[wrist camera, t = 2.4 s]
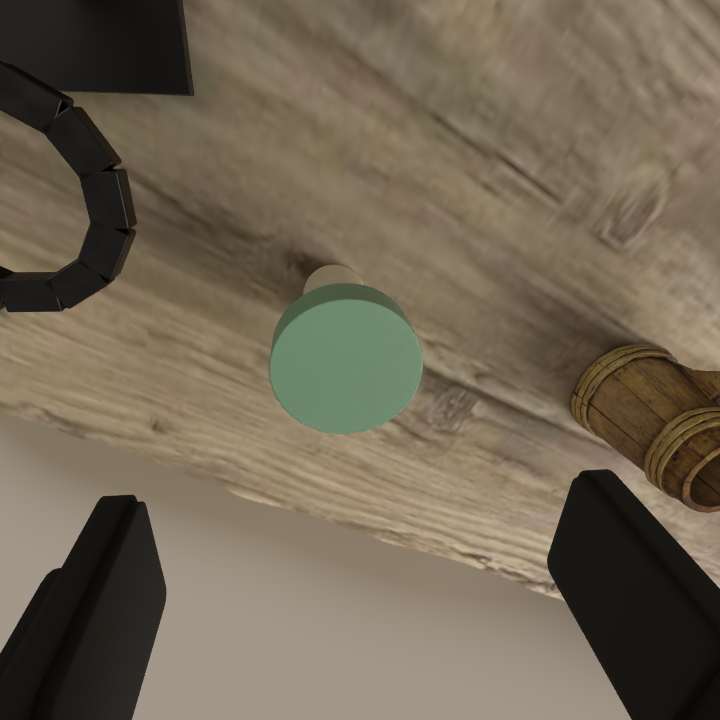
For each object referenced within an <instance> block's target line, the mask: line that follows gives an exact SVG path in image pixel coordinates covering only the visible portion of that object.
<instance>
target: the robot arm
mask: <svg viewBox="0 0 720 720" xmlns="http://www.w3.org/2000/svg"><path fill="white" fill-rule="evenodd" d="M547 564H548V569H549V572H550V574H551V576H552V578H553V580H554V581H555V583H556V585H557V587H558V589H559V590H560V592H561V594H562V596H563V598H564V599H565V601H566V603H567V604H568V606H569V608H570V610H571V612H572V614H573V615H574V617H575V619H576V621H577V622H578V624H579V626H580V628H581V630H582V631H583V633H584V635H585V637H586V639H587V640H588V642H589V644H590V646H591V647H592V649H593V651H594V653H595V655H596V656H597V658H598V660H599V662H600V663H601V665H602V667H603V669H604V671H605V673H606V674H607V676H608V678H609V680H610V681H611V683H612V685H613V687H614V689H615V690H616V692H617V694H618V696H619V698H620V699H621V701H622V703H623V705H624V706H625V708H626V710H627V712H628V714H629V716H630V717H631V719H632V720H720V589H719V587H718V586H717V585H716V584H715V583H714V582H713V581H712V580H711V579H710V578H709V576H708V575H707V574H706V573H705V572H704V571H703V570H702V569H701V568H700V567H699V565H698V564H697V563H696V562H695V561H694V560H693V559H692V558H691V557H690V556H689V554H688V553H687V552H686V551H685V550H684V549H683V548H682V547H681V546H680V545H679V543H678V542H677V541H676V540H675V539H674V538H673V537H672V536H671V535H670V534H669V532H668V531H667V530H666V529H665V528H664V527H663V526H662V525H661V524H660V523H659V522H658V520H657V519H656V518H655V517H654V516H653V515H652V514H651V513H650V512H649V511H648V509H647V508H646V507H645V506H644V505H643V504H642V503H641V502H640V501H639V500H638V498H637V497H636V496H635V495H634V494H633V493H632V492H631V491H630V490H629V489H628V487H627V486H626V485H625V484H624V483H623V482H622V481H621V480H620V479H619V478H618V476H617V475H616V474H615V473H613V472H612V471H611V470H608V469H604V470H585V471H582V472H580V474H579V476H578V477H577V478H575V479H573V481H572V484H571V487H570V490H569V493H568V496H567V499H566V502H565V505H564V508H563V511H562V514H561V517H560V520H559V524H558V527H557V530H556V533H555V536H554V539H553V542H552V545H551V548H550V551H549V554H548V558H547ZM165 602H166V585H165V580H164V576H163V572H162V569H161V564H160V561H159V556H158V552H157V548H156V544H155V540H154V536H153V532H152V528H151V523H150V519H149V515H148V511H147V507H146V504H145V503H144V502H137V499H136V497H135V496H134V495H119V496H103V497H102V498H100V500H99V501H98V502H97V504H96V506H95V508H94V510H93V512H92V513H91V515H90V517H89V519H88V521H87V523H86V524H85V526H84V528H83V530H82V532H81V533H80V535H79V537H78V539H77V541H76V543H75V544H74V546H73V548H72V550H71V552H70V554H69V555H68V557H67V559H66V561H65V563H64V564H63V566H62V568H58V569H54V570H52V571H51V572H50V573H48V574H47V575H46V577H45V578H44V580H43V581H42V582H41V584H40V586H39V588H38V589H37V591H36V593H35V594H34V596H33V598H32V600H31V601H30V603H29V605H28V606H27V608H26V610H25V612H24V613H23V615H22V617H21V619H20V620H19V622H18V624H17V626H16V627H15V629H14V631H13V633H12V635H11V636H10V638H9V639H8V641H7V643H6V645H5V646H4V648H3V650H2V652H1V653H0V720H132V717H133V714H134V710H135V707H136V703H137V700H138V696H139V693H140V690H141V686H142V683H143V679H144V676H145V672H146V669H147V665H148V662H149V658H150V655H151V651H152V648H153V645H154V641H155V638H156V634H157V631H158V627H159V624H160V620H161V617H162V613H163V610H164V606H165Z"/></svg>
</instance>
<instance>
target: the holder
mask: <svg viewBox="0 0 720 720" xmlns="http://www.w3.org/2000/svg"><path fill="white" fill-rule="evenodd" d="M59 91H68V92H96V93H124V94H152V95H180V96H194V90H193V82H192V74H191V66H190V58H189V50H188V42H187V34H186V26H185V18H184V10H183V2H182V0H0V110H1V111H3V112H5V113H7V114H8V115H10V116H12V117H14V118H16V119H18V120H20V121H21V122H23V123H25V124H27V125H29V126H31V127H32V128H34V129H36V130H38V131H40V132H42V133H44V134H45V135H46V137H47V138H48V139H49V140H50V142H51V143H52V144H53V145H54V146H55V148H56V149H57V150H58V151H59V153H60V154H61V155H62V156H63V158H64V159H65V160H66V161H67V163H68V164H69V165H70V166H71V168H72V169H73V170H74V171H75V172H76V174H77V175H78V176H79V178H80V182H81V186H82V190H83V194H84V198H85V202H86V206H87V210H88V214H89V218H90V225H89V228H88V231H87V234H86V237H85V240H84V243H83V245H82V248H81V251H80V254H79V257H78V259H76V260H75V261H73V262H72V263H70V264H69V265H67V266H65V267H64V268H62V269H61V270H59V271H57V272H13V271H11V270H8V269H6V268H4V267H1V266H0V310H1V309H3V308H4V307H6V309H7V311H8V312H56V311H63V310H64V309H65V308H68V309H69V308H72V307H74V306H75V305H77V304H78V303H80V302H82V301H83V300H85V299H87V298H88V297H90V296H91V295H93V294H95V293H96V292H98V291H100V290H101V289H103V288H104V287H106V286H108V285H109V284H110V283H111V282H112V281H114V280H115V277H116V276H117V275H119V274H120V273H121V270H122V268H123V265H124V263H125V260H126V258H127V255H128V252H129V250H130V247H131V245H132V242H133V240H134V237H135V235H136V231H135V230H134V229H132V228H131V227H133V226H134V225H136V224H137V221H136V216H135V211H134V206H133V201H132V196H131V191H130V186H129V181H128V176H127V171H126V170H125V169H113V168H114V167H116V166H117V165H119V164H120V163H121V162H122V161H121V159H120V157H119V156H118V155H117V153H116V152H115V151H114V149H113V148H112V147H111V145H110V144H109V143H108V141H107V140H106V139H105V137H104V136H103V135H102V133H101V132H100V131H99V129H98V128H97V127H96V125H95V124H94V123H93V121H92V120H91V119H90V117H89V116H88V115H87V113H86V112H85V111H84V109H83V108H81V107H73V103H74V101H73V99H72V98H70V97H68V96H66V95H65V94H63V93H61V92H59Z"/></svg>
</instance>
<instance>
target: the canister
mask: <svg viewBox="0 0 720 720" xmlns="http://www.w3.org/2000/svg"><path fill="white" fill-rule="evenodd" d="M422 369H423V358H422V351H421V347H420V343H419V341H418V339H417V336H416V334H415V332H414V330H413V329H412V327H411V325H410V323H409V321H408V319H407V317H406V316H405V314H404V312H403V311H402V309H401V308H400V307H399V306H398V305H397V304H396V303H395V302H394V301H393V300H392V299H391V298H390V297H388V296H387V295H385V294H384V293H382V292H380V291H378V290H376V289H374V288H371V287H368V286H365V285H363V282H362V280H361V278H360V277H359V276H358V275H357V273H355V272H354V271H353V270H352V269H350V268H348V267H346V266H343V265H335V264H334V265H326V266H323V267H321V268H319V269H317V270H316V271H314V272H313V273H312V274H311V275H310V277H309V278H308V280H307V281H306V283H305V287H304V293H303V296H301V297H300V298H298V299H297V300H296V301H295V302H294V303H292V304H291V305H290V306H289V308H288V309H287V310H286V311H285V312H284V314H283V315H282V317H281V318H280V320H279V322H278V324H277V326H276V329H275V332H274V335H273V342H272V348H271V355H270V361H269V377H270V383H271V386H272V389H273V392H274V394H275V396H276V398H277V400H278V401H279V403H280V404H281V406H282V407H283V408H284V409H285V410H286V411H287V412H288V413H289V414H290V415H291V416H292V417H293V418H294V419H296V420H297V421H299V422H300V423H302V424H304V425H306V426H308V427H310V428H313V429H316V430H318V431H323V432H327V433H334V434H351V433H358V432H363V431H367V430H370V429H373V428H375V427H378V426H380V425H382V424H384V423H386V422H387V421H389V420H391V419H392V418H393V417H395V416H396V415H397V414H398V413H400V412H401V411H402V410H403V409H404V408H405V407H406V405H407V404H408V403H409V402H410V400H411V399H412V397H413V396H414V394H415V392H416V390H417V388H418V385H419V382H420V379H421V375H422Z"/></svg>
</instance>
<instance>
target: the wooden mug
mask: <svg viewBox="0 0 720 720" xmlns="http://www.w3.org/2000/svg"><path fill="white" fill-rule="evenodd" d="M719 403H720V371H699V370H692V369H690V368H688V367H686V366H684V365H681V364H679V362H678V360H677V359H676V358H675V357H674V356H673V355H672V354H671V353H670V352H669V351H667V350H666V349H665V348H662V347H660V346H655V345H649V344H636V345H627V346H622V347H618V348H615V349H613V350H611V351H610V352H608V353H607V354H605V355H603V356H602V357H600V358H599V359H597V360H596V361H595V362H594V363H593V364H592V365H590V366H589V367H588V368H587V369H586V371H585V372H584V373H583V375H582V376H581V378H580V380H579V382H578V384H577V386H576V388H575V391H574V393H573V396H572V399H571V412H572V414H573V416H574V417H575V419H576V421H577V422H578V423H579V424H580V425H581V426H582V427H583V428H584V429H586V430H587V431H588V432H590V433H591V434H592V435H594V436H595V437H598V438H600V439H602V440H604V441H606V442H607V443H608V444H609V445H611V446H612V447H613V448H615V449H616V450H617V451H618V452H620V453H621V454H622V455H623V456H625V457H626V458H627V459H628V460H630V461H631V462H632V463H634V464H635V465H636V466H637V467H639V468H640V469H641V470H642V471H644V472H645V475H646V478H647V480H648V481H649V482H650V483H652V484H653V485H654V486H656V487H657V488H658V489H659V490H661V491H662V492H663V493H665V494H666V495H667V496H669V497H672V498H675V499H678V500H679V501H681V502H682V503H683V504H684V505H686V506H687V507H689V508H690V509H693V510H696V511H698V512H706V513H710V512H717V511H720V404H719Z"/></svg>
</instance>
